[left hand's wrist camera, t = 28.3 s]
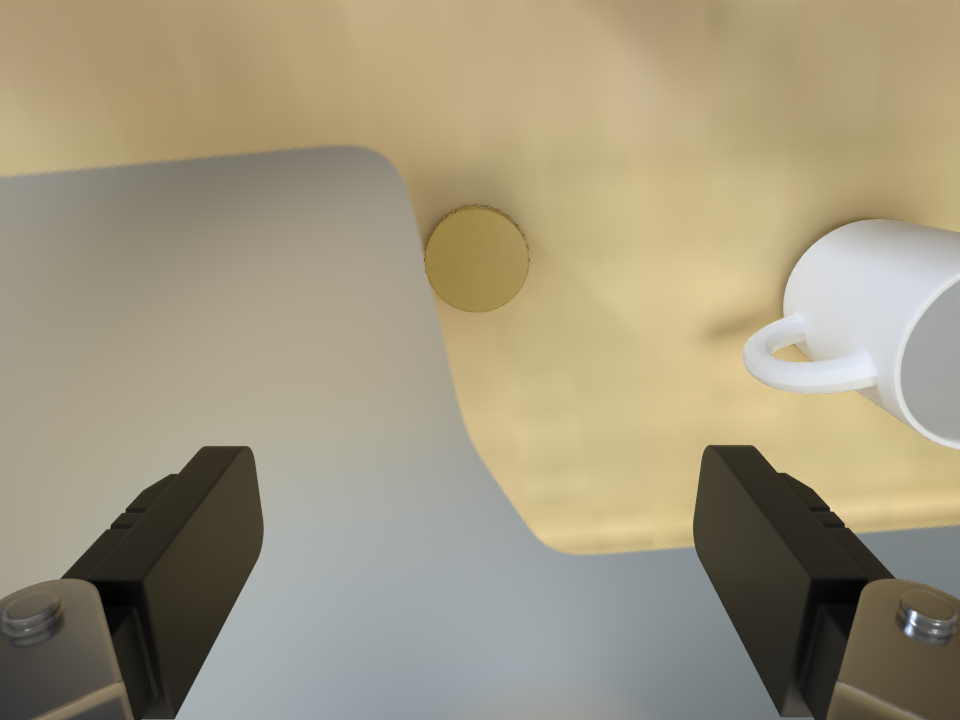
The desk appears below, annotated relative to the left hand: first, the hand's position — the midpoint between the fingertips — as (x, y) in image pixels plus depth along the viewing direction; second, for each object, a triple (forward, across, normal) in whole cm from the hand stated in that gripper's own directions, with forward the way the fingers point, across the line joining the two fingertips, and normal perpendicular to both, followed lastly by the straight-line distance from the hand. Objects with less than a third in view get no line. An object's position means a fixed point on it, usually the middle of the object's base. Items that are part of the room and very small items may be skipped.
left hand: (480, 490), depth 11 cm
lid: (+22, 0, 0) cm, 22 cm away
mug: (+24, +19, -3) cm, 30 cm away
